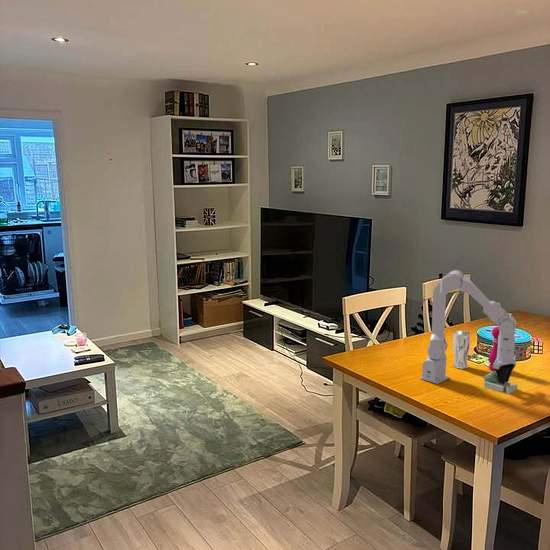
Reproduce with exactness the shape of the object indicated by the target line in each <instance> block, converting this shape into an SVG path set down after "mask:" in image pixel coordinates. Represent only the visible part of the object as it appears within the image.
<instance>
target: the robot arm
mask: <svg viewBox="0 0 550 550" xmlns="http://www.w3.org/2000/svg"><path fill="white" fill-rule="evenodd" d="M458 289H459V290H458ZM456 290H458V291H459V292H463V293H467V294H469V295H470V296H471V297H472V298H473V299H474V300H475V301H476V302H477V303H478V304H479V305H481V306H482V307H483V308H482V311H483V313H484V314H485V315H486V316H487V317H488V318H489V319H490V320H491V321H492V322H493V323H494V324H495V325H497V327H498V328H499V330H500V332H499V336H498V349H497V358H496V360H495V363H493V368H494V369H495V371H496V373H497V377H498V382H499V383H501V384H505V382H510V377H511V376H512V375H511V374H512V372H513V371H514V368H516V365H517V361H516V360H517V355H515V345H516V344H515V343H516V336H515V335H516V329H517V328H516V327H517V321H516V319H515V317H514V316H513V315H511V314H510V313H509V312H506V310H505V309H504V308H503V307H501V303H500V302H496V301H494V300H490V299H489V298H488V297H487V296H486V295H485V294H484V293H483V292H482V291H481V289H480V288H479V287H478V286H476V285H475V284H474V282H473V281H472V280H471V278H469V277H468V276H466V275H464V273H463V272H462V271H461V270H458V269H454V270H450V271H449V272H448V273H447V274H445V275H444V276H443V277H442V278H441V279H440V280H439V282H438V283H437V284H436V286H435V287H434V288H433V290H432V309H431V310H432V311H431V312H432V313H431V318H432V319H431V335H430V338H429V339H430V340H429V345H428V347H427V349H426V350H427V351H426V352H427V357H426V359H425V360H424V361H423V363H422V371H421V372H422V373H421V376H420V377H419V379H420V380H424V381H427V382H430V383H432V384H433V383H434V384H437V385H438V384H440V383H442V382H444V381H446V380H448V379H450V378H451V377H450V376H448V375H447V374H446V373H447V357H448V356H447V355H446V351H447V349H448V348H449V347H448V343H447V340H446V332H445V331H446V330H445V329H446V304H447V295H448V294H449V293H451V292H453V291H456ZM498 325H499V326H498Z"/></svg>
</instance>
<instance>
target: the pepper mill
mask: <svg viewBox="0 0 550 550" xmlns="http://www.w3.org/2000/svg"><path fill="white" fill-rule="evenodd" d="M498 326H499V325H497V326H495V327H493V328H492V330H491V336H492V340H491V341H492V342H493V345H492V346H493V347H492V350H491V351H490V352H489V355H488V359H487V360H488V362H489V364H488V370H489V371H491V372H493V371H495V369H494V368H493V363H495V360H496V358H497V349H498V336H499V332H500V330H499V328H498Z"/></svg>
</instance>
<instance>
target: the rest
mask: <svg viewBox="0 0 550 550" xmlns="http://www.w3.org/2000/svg"><path fill="white" fill-rule="evenodd" d="M483 387H484V388H487V389H490V390H493V391H497V392H500V393H503V392H504V390H505V389H504V388H506V392H505V394H506V395H510V394H512V393H513V392H515V391H517V390H518V383H513V384H512V382H510V381H508V382H505V384H501V383H499V382H497V383H495V384H493V383H490V382H485V381H484V386H483Z"/></svg>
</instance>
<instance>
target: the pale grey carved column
mask: <svg viewBox="0 0 550 550" xmlns="http://www.w3.org/2000/svg"><path fill="white" fill-rule="evenodd" d="M452 347H453V357H454V359H453V363H452V367H453V366H454V368H455V367H456V368H455V369H458V368H460V369H459V370H467V369H468V368H469V364H468V359H469V354H470V349H471V332H470V331H468V330H461V329H460V330H455V331H454V332H453V336H452ZM466 368H467V369H466Z"/></svg>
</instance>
